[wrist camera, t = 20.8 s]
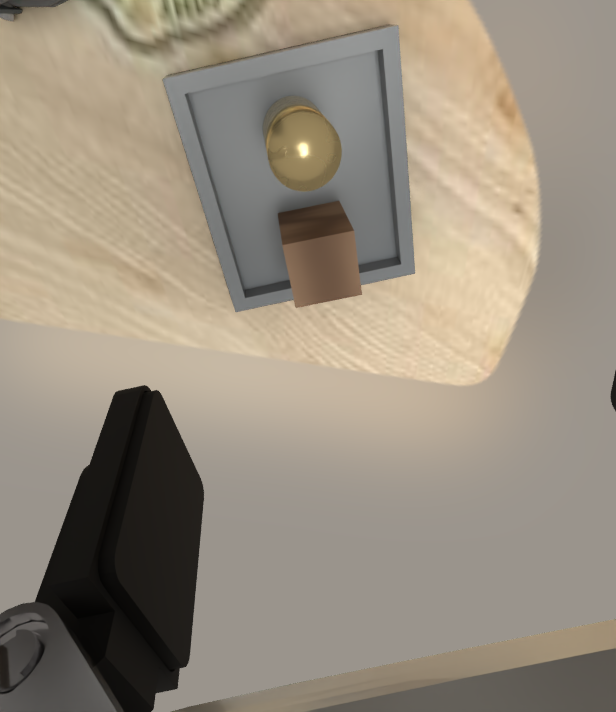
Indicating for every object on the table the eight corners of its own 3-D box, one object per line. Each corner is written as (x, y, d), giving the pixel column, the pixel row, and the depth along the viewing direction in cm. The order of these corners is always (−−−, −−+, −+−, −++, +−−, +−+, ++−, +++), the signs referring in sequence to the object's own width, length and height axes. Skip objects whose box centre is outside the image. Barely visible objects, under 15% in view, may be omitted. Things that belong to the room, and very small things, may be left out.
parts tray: (236, 298, 40) (235, 312, 38) (167, 75, 31) (162, 79, 29) (407, 261, 40) (415, 273, 38) (389, 24, 30) (398, 25, 29)
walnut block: (289, 270, 38) (295, 307, 33) (277, 213, 36) (282, 245, 31) (347, 258, 38) (361, 294, 33) (339, 200, 36) (354, 230, 31)
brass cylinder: (270, 167, 34) (277, 198, 28) (255, 103, 31) (259, 123, 26) (328, 154, 34) (346, 182, 28) (317, 88, 31) (335, 105, 26)
